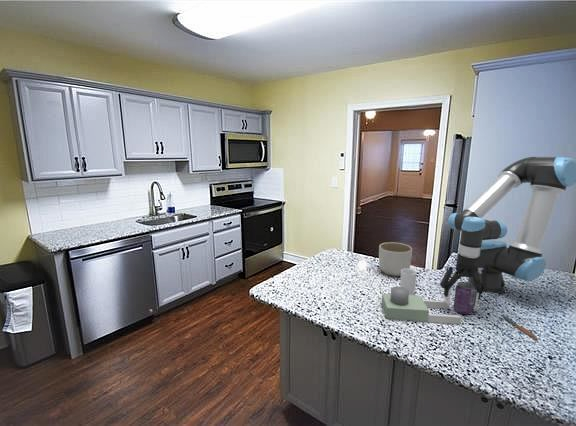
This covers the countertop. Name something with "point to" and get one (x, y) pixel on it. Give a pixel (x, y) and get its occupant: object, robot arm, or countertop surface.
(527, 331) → the knife
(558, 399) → the countertop surface
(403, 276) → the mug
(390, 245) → the planter
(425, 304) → the stepped platform base
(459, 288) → the beverage can
